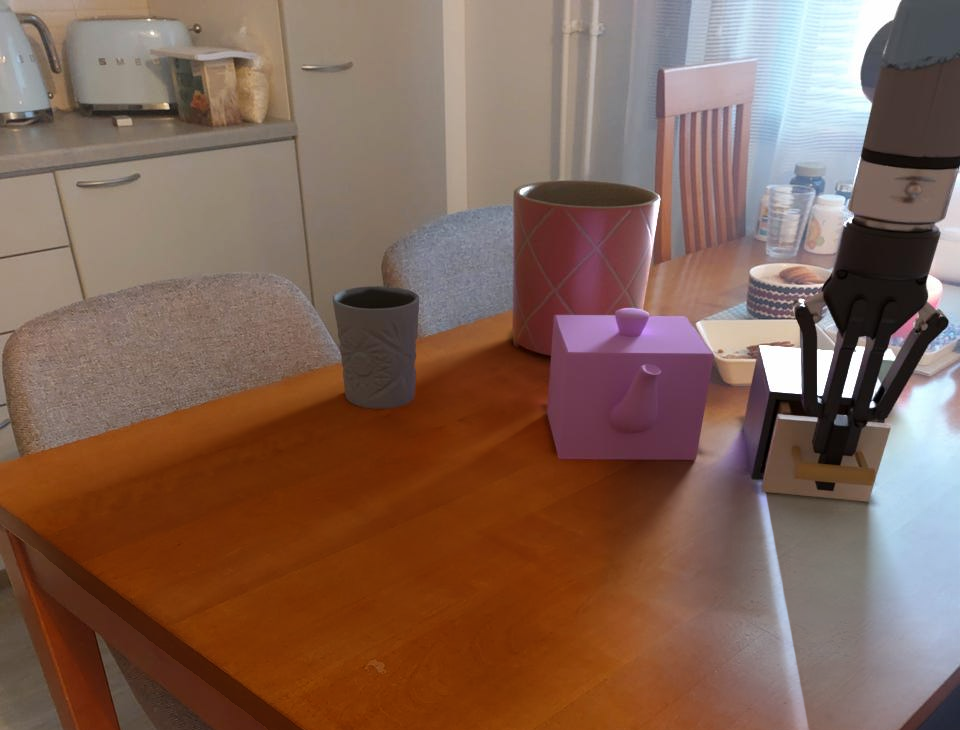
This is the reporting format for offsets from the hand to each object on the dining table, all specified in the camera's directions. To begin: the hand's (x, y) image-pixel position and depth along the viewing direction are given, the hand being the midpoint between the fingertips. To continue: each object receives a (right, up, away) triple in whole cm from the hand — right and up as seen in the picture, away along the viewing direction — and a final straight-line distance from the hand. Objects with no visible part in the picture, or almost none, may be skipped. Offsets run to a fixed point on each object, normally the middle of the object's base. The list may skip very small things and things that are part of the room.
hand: (823, 484), depth 89 cm
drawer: (+1, +2, +7) cm, 7 cm away
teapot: (-17, +8, +17) cm, 25 cm away
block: (+17, +18, +32) cm, 40 cm away
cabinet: (+3, +6, +14) cm, 15 cm away
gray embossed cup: (-46, +15, +26) cm, 55 cm away
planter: (-20, +27, +43) cm, 55 cm away
